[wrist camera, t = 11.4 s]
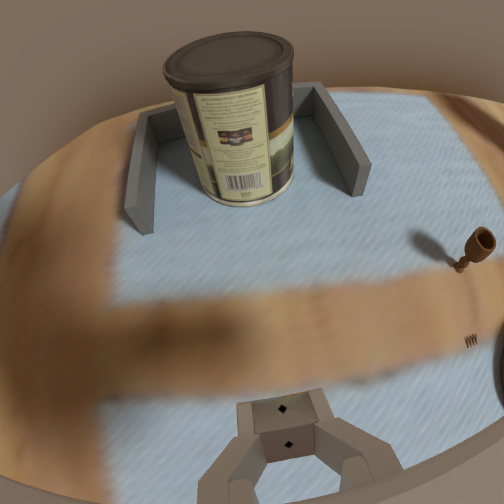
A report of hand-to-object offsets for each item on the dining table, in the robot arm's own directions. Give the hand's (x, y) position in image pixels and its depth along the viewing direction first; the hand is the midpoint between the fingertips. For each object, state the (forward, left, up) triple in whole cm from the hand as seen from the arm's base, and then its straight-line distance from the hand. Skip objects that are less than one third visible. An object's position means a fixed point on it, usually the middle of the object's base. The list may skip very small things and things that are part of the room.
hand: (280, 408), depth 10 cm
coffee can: (+1, +23, -13) cm, 27 cm away
